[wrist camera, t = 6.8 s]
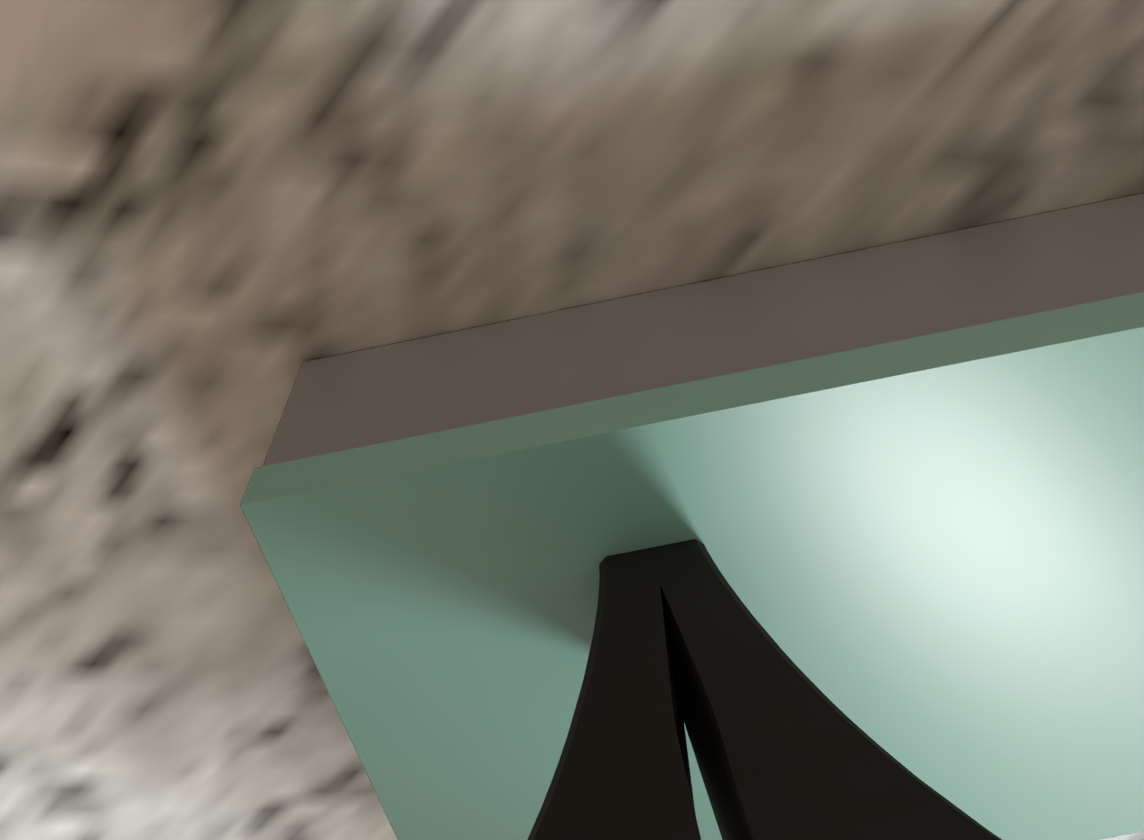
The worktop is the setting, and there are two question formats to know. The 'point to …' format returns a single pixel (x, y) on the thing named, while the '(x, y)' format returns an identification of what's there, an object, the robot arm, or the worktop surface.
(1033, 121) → the worktop surface
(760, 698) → the robot arm
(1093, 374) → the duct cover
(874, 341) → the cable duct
